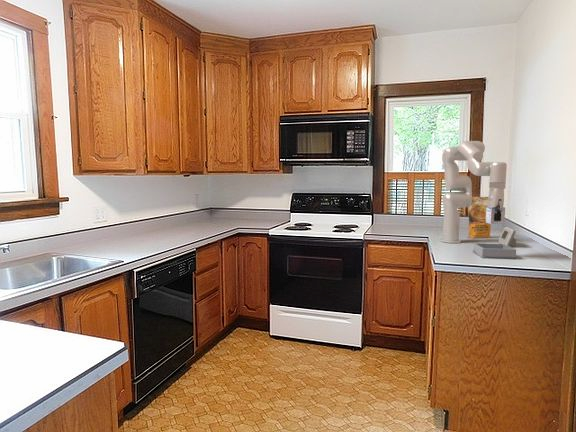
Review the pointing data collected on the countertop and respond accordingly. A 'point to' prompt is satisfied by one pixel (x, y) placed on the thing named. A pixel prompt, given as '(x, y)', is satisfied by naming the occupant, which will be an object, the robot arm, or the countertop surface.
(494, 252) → the bin
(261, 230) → the countertop surface
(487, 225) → the pancake mix bag
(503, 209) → the medicine box
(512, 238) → the digital clock
